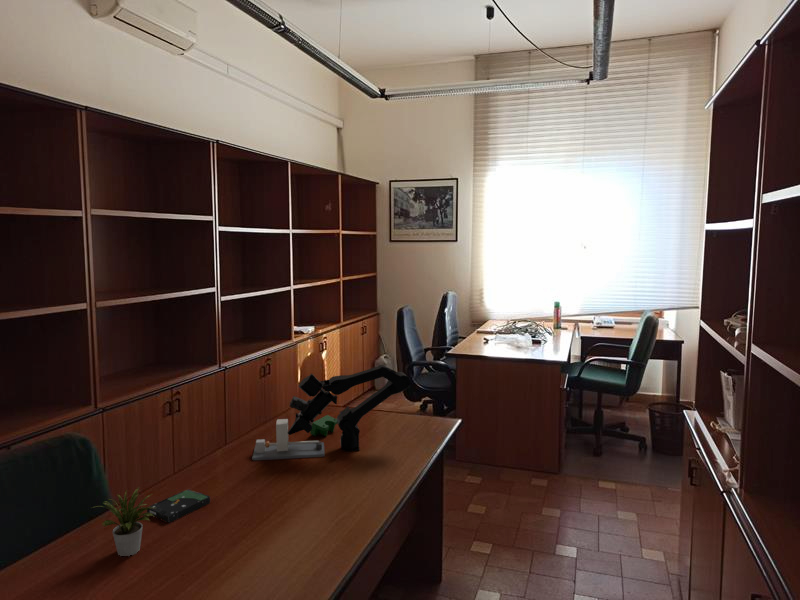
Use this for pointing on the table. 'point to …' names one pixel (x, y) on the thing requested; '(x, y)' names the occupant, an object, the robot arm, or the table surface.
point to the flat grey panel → (294, 450)
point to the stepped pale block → (282, 434)
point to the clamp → (323, 425)
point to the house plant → (128, 524)
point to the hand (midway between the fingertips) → (288, 433)
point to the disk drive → (178, 505)
